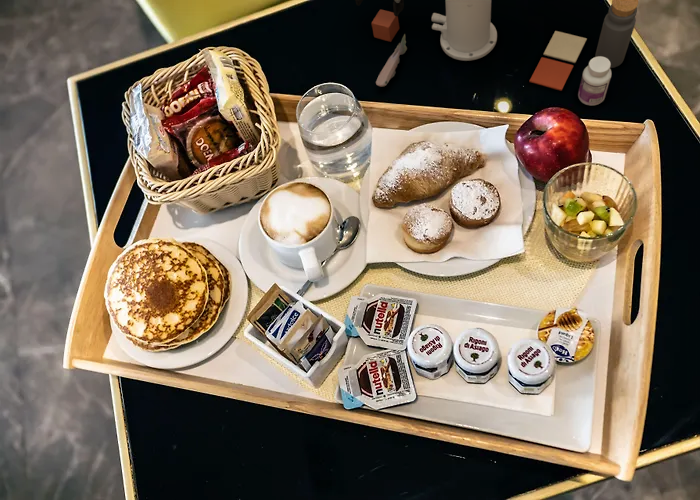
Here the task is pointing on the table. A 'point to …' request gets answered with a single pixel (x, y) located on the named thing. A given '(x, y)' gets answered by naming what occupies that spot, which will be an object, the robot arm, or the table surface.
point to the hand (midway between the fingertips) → (379, 6)
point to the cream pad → (565, 46)
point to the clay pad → (551, 73)
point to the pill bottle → (595, 81)
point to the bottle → (617, 31)
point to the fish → (391, 64)
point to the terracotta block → (385, 25)
